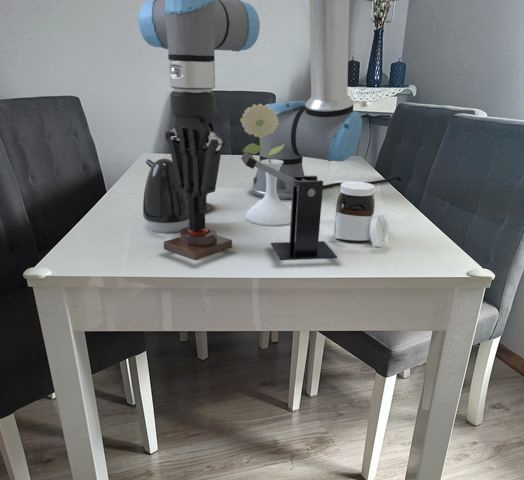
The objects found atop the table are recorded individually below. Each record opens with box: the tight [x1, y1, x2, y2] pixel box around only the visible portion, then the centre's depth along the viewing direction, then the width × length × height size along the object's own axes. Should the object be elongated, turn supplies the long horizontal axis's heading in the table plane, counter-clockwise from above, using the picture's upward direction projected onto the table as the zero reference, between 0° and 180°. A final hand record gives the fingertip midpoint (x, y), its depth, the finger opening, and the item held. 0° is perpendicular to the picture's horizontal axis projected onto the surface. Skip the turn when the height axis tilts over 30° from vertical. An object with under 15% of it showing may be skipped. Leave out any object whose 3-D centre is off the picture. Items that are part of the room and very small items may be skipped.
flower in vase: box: [240, 103, 291, 227], centre depth 114 cm, size 13×11×25 cm
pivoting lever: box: [240, 152, 307, 190], centre depth 93 cm, size 14×6×2 cm, turn 99°
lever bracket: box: [270, 175, 338, 261], centre depth 98 cm, size 11×9×15 cm
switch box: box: [163, 226, 233, 261], centre depth 100 cm, size 10×8×4 cm
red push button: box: [187, 228, 208, 235], centre depth 100 cm, size 4×4×2 cm
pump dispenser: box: [142, 157, 189, 234], centre depth 109 cm, size 10×10×15 cm
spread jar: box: [333, 181, 390, 248], centre depth 107 cm, size 12×11×12 cm
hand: (197, 228), depth 99 cm, fingers closed
